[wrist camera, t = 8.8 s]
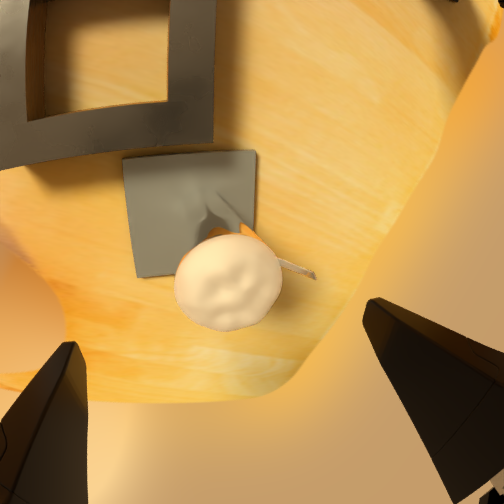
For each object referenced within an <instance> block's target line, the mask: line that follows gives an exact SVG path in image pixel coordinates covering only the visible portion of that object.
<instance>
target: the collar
mask: <svg viewBox="0 0 504 504" xmlns="http://www.w3.org/2000/svg"><path fill="white" fill-rule="evenodd" d="M49 1H53V0H0V171H1V170H5V169H10V168H14V167H19V166H24V165H29V164H34V163H39V162H44V161H50V160H56V159H61V158H68V157H74V156H80V155H87V154H94V153H102V152H109V151H118V150H126V149H136V148H146V147H157V146H169V145H183V144H200V143H213V112H214V58H215V27H216V3H217V0H170V2H169V21H168V49H167V100H164V101H151V102H140V103H130V104H121V105H113V106H105V107H98V108H91V109H85V110H79V111H73V112H67V113H62V114H57V115H52V116H47V117H45V99H44V43H45V26H46V13H47V3H48V2H49Z"/></svg>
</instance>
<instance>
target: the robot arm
mask: <svg viewBox="0 0 504 504" xmlns="http://www.w3.org/2000/svg"><path fill="white" fill-rule="evenodd" d="M449 1H451V2H453V3H454V2H458V1H459V0H449ZM498 2H499V4H500V6H501V7H502V8H504V0H498ZM362 322H363V326H364V328H365V331H366V333H367V335H368V337H369V340H370V342H371V344H372V346H373V349H374V351H375V353H376V356H377V357H378V360H379V362H380V364H381V366H382V368H383V369H384V371H385V373H386V375H387V376H388V378H389V380H390V382H391V384H392V385H393V387H394V389H395V391H396V393H397V395H398V396H399V398H400V400H401V402H402V403H403V405H404V407H405V409H406V411H407V413H408V415H409V416H410V418H411V420H412V422H413V424H414V426H415V428H416V430H417V432H418V434H419V435H420V438H421V439H422V441H423V443H424V445H425V447H426V449H427V451H428V453H429V455H430V457H431V458H432V461H433V463H434V465H435V467H436V469H437V471H438V473H439V475H440V477H441V480H442V481H443V484H444V486H445V488H446V490H447V492H448V494H449V496H450V498H451V500H452V502H453V504H457V503H459V502H460V501H462V500H463V499H465V498H466V497H468V496H469V495H470V494H472V493H473V492H474V491H476V490H477V489H479V488H480V487H481V486H483V485H484V484H485V483H486V482H488V481H489V480H490V481H491V483H492V484H493V486H494V487H492V488H491V489H490V490H489V491H488V492H487V493H486V494H484V495H483V496H482V497H481V498H480V500H479V504H504V353H503V352H500V351H497V350H495V349H492V348H490V347H487V346H485V345H483V344H481V343H478V342H476V341H474V340H472V339H470V338H466V337H465V336H463V335H461V334H459V333H457V332H455V331H452V330H450V329H448V328H446V327H444V326H442V325H439V324H437V323H435V322H433V321H431V320H428V319H426V318H424V317H422V316H420V315H418V314H415V313H413V312H411V311H409V310H407V309H404V308H402V307H400V306H398V305H396V304H393V303H391V302H389V301H387V300H385V299H382V298H380V297H378V298H374V299H370V300H368V302H367V304H366V308H365V312H364V315H363V320H362ZM87 432H88V401H87V374H86V363H85V360H84V358H83V355H82V353H81V351H80V348H79V346H78V344H77V343H76V342H75V341H70V342H63V343H62V344H61V345H60V346H59V347H58V348H57V350H56V351H55V352H54V353H53V354H52V356H51V357H50V358H49V359H48V361H47V362H46V363H45V364H44V365H43V367H42V368H41V369H40V370H39V371H38V373H37V374H36V375H35V376H34V378H33V379H32V380H31V381H30V383H29V384H28V385H27V387H26V388H25V389H24V390H23V392H22V393H21V394H20V396H19V397H18V398H17V399H16V401H15V402H14V404H13V405H12V406H11V407H10V409H9V410H8V411H7V413H6V414H5V416H4V417H3V418H2V420H1V422H0V504H88V490H87V489H88V488H87Z"/></svg>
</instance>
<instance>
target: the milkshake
mask: <svg viewBox="0 0 504 504" xmlns="http://www.w3.org/2000/svg"><path fill="white" fill-rule="evenodd" d="M281 266H282V267H284V268H287V269H289V270H291V271H294V272H296V273H299V274H301V275H304V276H306V277H308V278H311V279H313V280H317V279H316V276H315V273H314V272H313V271H311V270H308V269H306V268H303V267H301V266H298V265H296V264H293V263H291V262H288V261H285V260H283V259H280V258H278V257H276V255H275V254H274V252H273V251H272V250H271V249H270V248H269V247H268V246H267V245H266V244H265V243H264V242H263V241H262V240H261V239H260V238H259V237H258V236H257V235H256V234H255V233H254V232H253V231H252V230H251V229H250V228H249V227H248V226H247V225H246V224H245V223H244V222H243V221H242V220H241V219H240V218H239V216H238V215H237V214H236V213H235V212H234V211H233V209H232V208H231V207H230V206H229V205H228V204H227V203H226V202H225V201H224V200H223V199H222V198H221V197H220V196H219V195H218V194H217V193H216V192H208V191H200V190H199V191H197V192H195V193H193V194H191V195H190V196H188V197H186V198H184V200H183V202H182V204H181V206H180V208H179V210H178V212H177V227H176V262H175V278H174V293H175V298H176V301H177V303H178V305H179V307H180V309H181V310H182V311H183V313H184V314H185V315H186V316H187V317H188V318H189V319H191V320H192V321H193V322H195V323H197V324H199V325H201V326H204V327H207V328H210V329H213V330H216V331H223V332H228V331H234V330H238V329H241V328H244V327H248V326H252V325H255V324H257V323H259V322H260V321H261V320H262V319H263V318H264V317H265V316H266V314H267V313H268V312H269V310H270V308H271V307H272V305H273V304H274V302H275V301H276V299H277V298H278V296H279V294H280V291H281V288H282V281H283V278H282V270H281Z"/></svg>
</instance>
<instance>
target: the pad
mask: <svg viewBox="0 0 504 504" xmlns="http://www.w3.org/2000/svg"><path fill="white" fill-rule="evenodd" d="M122 165H123V177H124V187H125V197H126V205H127V214H128V222H129V229H130V236H131V243H132V250H133V256H134V262H135V268H136V274H137V278H142V277H151V276H161V275H170V274H175V262H176V227H177V212H178V210H179V208H180V206H181V204H182V202H183V200H184V198H186V197H188V196H190V195H191V194H193V193H195V192H197V191H199V190H200V191H208V192H216V193H217V194H218V195H219V196H220V197H221V198H222V199H223V200H224V201H225V202H226V203H227V204H228V205H229V206H230V207H231V208H232V209H233V211H234V212H235V213H236V214H237V215H238V216H239V218H240V219H241V220H242V221H243V222H244V223H245V224H246V225H247V226H248V227H249V228H250V229H251V230H252V231H253V223H254V194H255V165H256V151H255V150H224V151H202V152H186V153H172V154H160V155H149V156H138V157H129V158H123V159H122Z"/></svg>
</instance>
